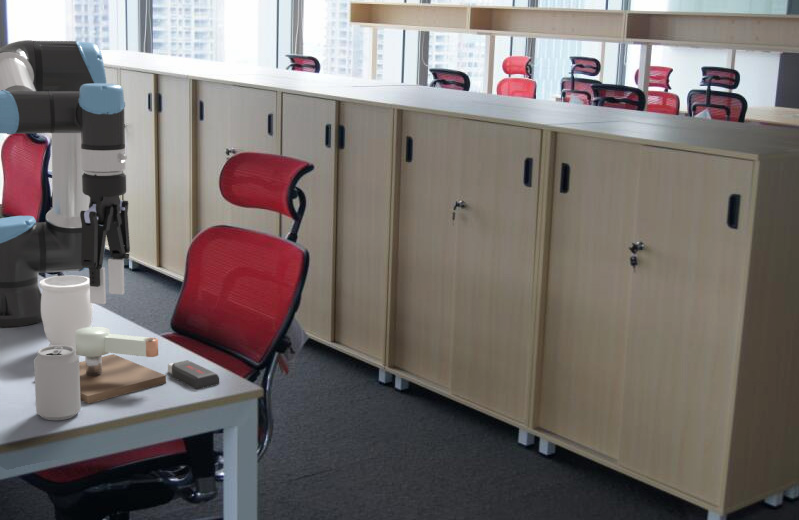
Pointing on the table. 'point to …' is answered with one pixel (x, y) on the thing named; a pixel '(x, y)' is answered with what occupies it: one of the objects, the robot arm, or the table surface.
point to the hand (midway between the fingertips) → (107, 298)
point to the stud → (93, 365)
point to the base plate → (116, 379)
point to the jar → (65, 308)
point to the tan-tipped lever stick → (112, 343)
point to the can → (57, 382)
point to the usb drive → (193, 374)
